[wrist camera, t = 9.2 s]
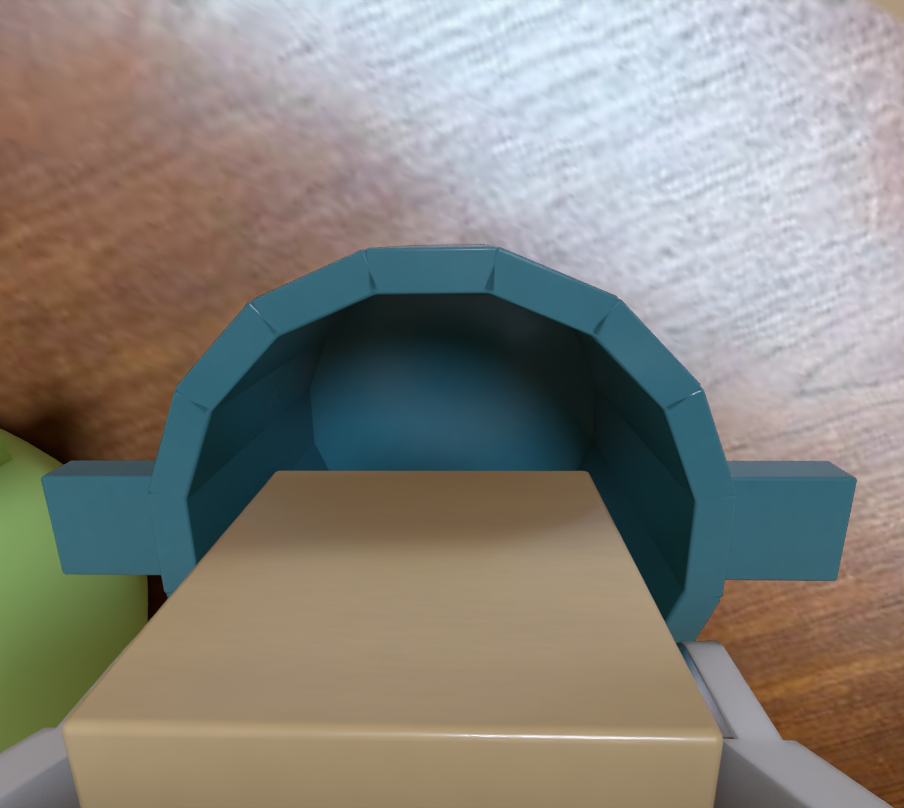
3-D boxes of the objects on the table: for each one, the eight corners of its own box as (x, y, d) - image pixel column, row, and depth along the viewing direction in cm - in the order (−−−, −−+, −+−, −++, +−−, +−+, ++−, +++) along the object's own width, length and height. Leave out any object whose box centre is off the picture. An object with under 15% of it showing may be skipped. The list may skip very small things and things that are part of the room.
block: (275, 468, 9) (53, 726, 4) (589, 468, 9) (729, 736, 4) (302, 719, 10) (158, 1128, 6) (573, 723, 10) (665, 1149, 5)
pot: (200, 247, 19) (-47, 253, 10) (708, 241, 18) (938, 241, 9) (240, 550, 22) (80, 764, 13) (673, 553, 22) (820, 779, 13)
